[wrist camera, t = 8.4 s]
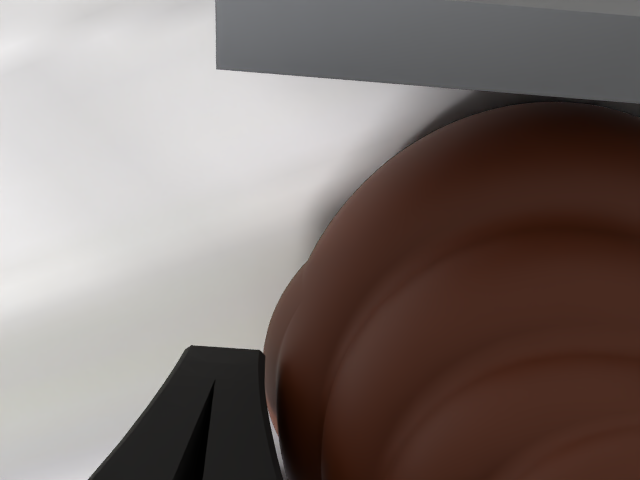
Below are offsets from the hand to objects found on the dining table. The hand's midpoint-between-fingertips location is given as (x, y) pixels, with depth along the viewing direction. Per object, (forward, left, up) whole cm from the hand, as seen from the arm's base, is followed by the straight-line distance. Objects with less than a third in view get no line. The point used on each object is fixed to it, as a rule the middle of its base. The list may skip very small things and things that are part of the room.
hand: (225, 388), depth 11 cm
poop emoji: (0, -5, -3) cm, 6 cm away
